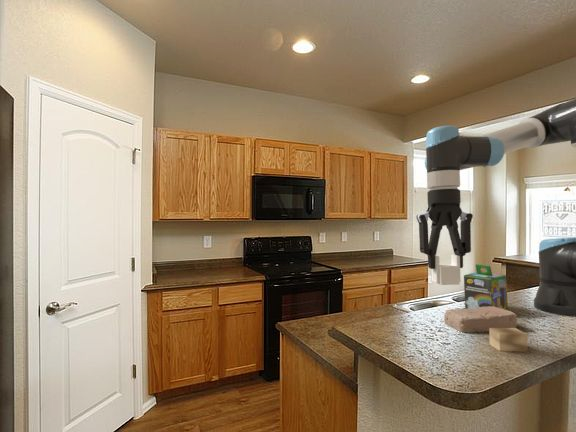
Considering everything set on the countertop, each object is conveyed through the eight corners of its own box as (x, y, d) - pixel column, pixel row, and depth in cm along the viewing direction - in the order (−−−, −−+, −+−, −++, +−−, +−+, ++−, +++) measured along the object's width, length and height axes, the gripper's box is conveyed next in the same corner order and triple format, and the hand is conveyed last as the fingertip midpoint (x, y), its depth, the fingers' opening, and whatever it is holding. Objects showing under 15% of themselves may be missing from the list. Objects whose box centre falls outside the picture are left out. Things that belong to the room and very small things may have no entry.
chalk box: (508, 311, 103) (507, 265, 103) (492, 315, 99) (491, 267, 99) (479, 304, 111) (478, 261, 111) (463, 308, 107) (462, 264, 107)
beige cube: (450, 280, 84) (449, 263, 84) (459, 284, 79) (459, 266, 79) (432, 281, 83) (432, 264, 84) (441, 285, 79) (440, 266, 79)
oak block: (515, 344, 77) (515, 328, 77) (527, 351, 73) (526, 334, 73) (489, 344, 77) (489, 327, 77) (499, 351, 73) (499, 334, 73)
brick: (462, 334, 84) (461, 316, 84) (442, 324, 93) (442, 307, 93) (518, 331, 86) (518, 313, 87) (494, 321, 95) (494, 305, 95)
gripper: (468, 189, 85) (471, 277, 85) (403, 191, 85) (405, 279, 85) (487, 186, 78) (489, 283, 78) (415, 188, 78) (417, 285, 77)
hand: (445, 281), depth 81 cm, fingers closed on beige cube, 4 cm apart
